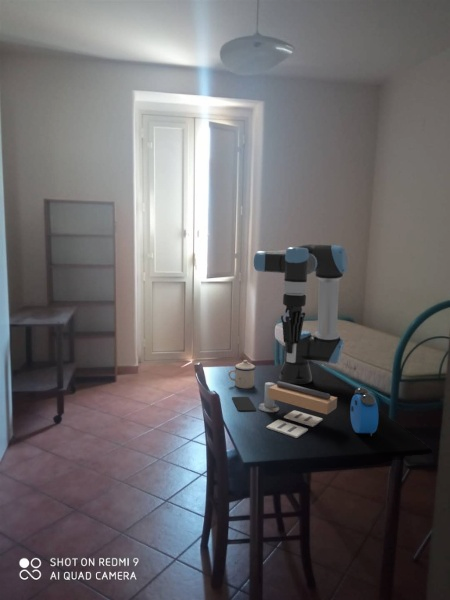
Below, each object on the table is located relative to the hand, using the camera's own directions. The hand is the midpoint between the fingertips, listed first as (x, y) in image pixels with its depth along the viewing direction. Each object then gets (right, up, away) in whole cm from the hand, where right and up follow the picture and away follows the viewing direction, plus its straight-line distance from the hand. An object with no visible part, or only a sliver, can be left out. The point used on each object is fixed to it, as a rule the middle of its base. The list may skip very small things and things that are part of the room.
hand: (290, 361), depth 153 cm
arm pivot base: (-5, -21, +22) cm, 31 cm away
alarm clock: (+25, -25, +3) cm, 36 cm away
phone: (-15, -21, +26) cm, 36 cm away
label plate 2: (+6, -23, +13) cm, 27 cm away
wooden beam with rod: (+4, -22, +14) cm, 26 cm away
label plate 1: (-1, -24, +3) cm, 24 cm away
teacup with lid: (-15, -18, +48) cm, 53 cm away
